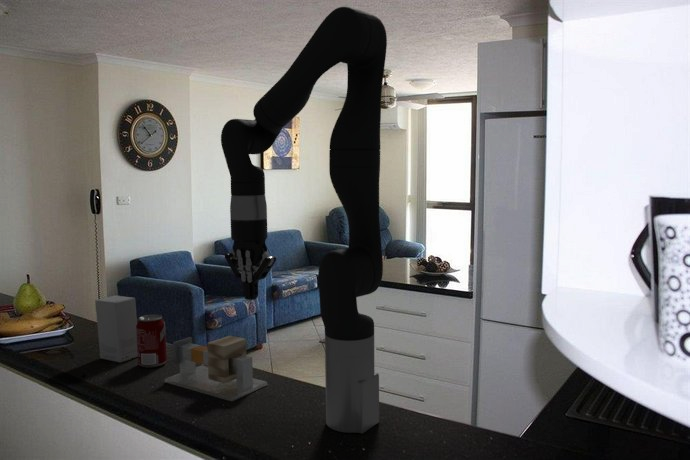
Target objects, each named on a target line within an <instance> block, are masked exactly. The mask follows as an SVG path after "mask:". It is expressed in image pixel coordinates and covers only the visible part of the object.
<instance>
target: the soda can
mask: <svg viewBox="0 0 690 460" xmlns="http://www.w3.org/2000/svg"><path fill="white" fill-rule="evenodd" d="M136 331H137V352H138V357H137V364H138V365H139V366H141V367H142V368H144V367H145V369H155V368H159V367H161V366H163V365H164V364H165V363H167V360H168V359H167V358H168V357H167V356H168V355H167V339H166V338H167V334H166V322H165V321H164V319H163V315H161V314H146V315H142V316H140V317H138V321H137V325H136Z"/></svg>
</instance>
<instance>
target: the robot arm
mask: <svg viewBox="0 0 690 460" xmlns="http://www.w3.org/2000/svg"><path fill="white" fill-rule="evenodd" d="M387 41H388V38H387V29H386V28H385V25H384V23H383V21H382V19H380V18H379V17H378V16H376V15H374V14H373V13H369V12H367V11H364V10H360V9H358V8H355V7H351V6H340V7H337V8H334V10H331V12H330V13H328V14H327V16H325V18H324V19H323V20H322V21H321V23H320V24H319V26H318V27H317V29H316V30H315V31H314V32H313V35H312V36H311V37H310V38H309V40H308V41H307V43H306V44H305V45H304V47H303V48H302V49H301V51H300V52H299V54H298V56H297V57H296V58H295V59H294V61H293V63H292V64H291V65H290V67H289V68H288V69H287V71H286V72H285V73H284V74H283V75H282V76H281V77H280V79H278V81H276V83H275V84H273V86H272V87H271V88H270V89H269V90H268V91H266V93H265V94H264V95H263V96H261V97H260V98H259V100H257V102H256V103H255V104H254V107H253V111H252V112H253V117H254V119H246V118H245V119H244V118H233V119H229V120H227V122H226V123H225V124H224V125H223V127H222V130H221V133H220V142H221V143H220V144H221V149H222V152H223V155H224V158H225V162H226V166H227V169H228V172H229V175H230V204H229V205H230V206H229V213H230V240H232V241H233V244H232V247H231V248H232V250H231V251H230V252H229V253H225V254H224V258H225V260H226V262H227V264H228V266H229V267H230V269H231V271H232V273H233V274H234V277H235V278H236V279H240V280H241V281H242V282H243V286H242V287H243V296H244V299H245V300H249V301H252V300H253V301H254V300H256V299H257V298H258V296H259V281H260V280H263V279H264V280H265V279H266V278H267V276H268V274H269V273H270V271H271V269H272V267H274V264H275V263H276V261H277V257H276V256H274V255H273V256H272V255H271V254H270V253H269V252H268V247H267V243H266V240H267V239H268V206H267V200H266V177H265V174H266V173H265V171H264V169H263V168H262V167H260V166H257V165H254V164H253V163H252V159H251V156H250V155H261V154H263V153H264V152H266V151H268V150H269V149H270V148H271V147H272V146H273V144H274V143H275V141H276V140H277V138H278V137H279V135H280V134H281V132H282V129H283V128H284V127H285V126H286V125H288V124H289V123H290V122H291V121H292V120H293V119H294V118H295V117H297V116H298V115H299V113H300V112H301V111H302V110H303V109H305V106H306V105H307V104H308V102H309V99H310V97H311V94H312V92H313V89H314V87H315V85H316V84H317V82H318V80H319V79H320V78H321V77H322V76H323V75H324V74H325V73H326V72H328V71H329V70H330V69H332V68H333V67H335V66H337V65H338V64H340V63H343V64H346V69H347V83H346V84H347V89H346V94H345V99H344V103H343V105H342V108H341V110H340V112H339V115H338V117H337V119H336V121H335V123H334V127H333V128H332V131H331V134H330V139H329V140H330V141H329V152H328V153H329V156H328V157H329V163H328V165H329V178H330V181H331V184H332V187H333V189H334V192H335V194H336V196H337V197H338V199H339V202H340V203H341V205H342V207H343V210H344V212H345V216H346V219H347V223H348V225H347V226H348V247H347V248H339V249H334V250H330V251H328V252H326V253H325V254H323V256H322V257H321V259H320V263H319V266H318V277H317V279H318V280H317V281H318V294H319V297H318V298H319V310H320V316H321V320H322V323H323V326H324V360H325V361H324V364H325V365H324V369H325V372H324V373H325V379H324V380H325V381H324V382H325V423H326V424H325V425H326V426H327V427H328V428H329V429H331V430H334V431H335V432H336V431H337V432H340V433H348V434H349V433H359V434H365V432H367V431H369V430H370V429H371V428H373V427H374V426H376V425H377V424H379V422H380V375H379V373H377V372H375V322H374V319H373V318H372V316H369V315H367V314H363V313H360V312H359V310H358V302H357V298H359V297H364V296H367V295H371V294H373V293H375V292H376V291H377V290H378V288H380V286H381V283H382V279H383V274H384V273H383V272H384V263H383V261H384V259H383V248H382V237H381V225H380V224H381V221H380V220H381V219H380V174H381V121H382V119H381V118H382V116H381V115H382V92H383V81H384V80H383V79H384V72H385V67H386V66H385V65H386V57H387V48H388V47H387V46H388V42H387Z"/></svg>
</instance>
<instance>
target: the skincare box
mask: <svg viewBox="0 0 690 460" xmlns="http://www.w3.org/2000/svg"><path fill="white" fill-rule="evenodd" d="M94 302H95V304H94V305H95V312H96V314H95V315H96V322H97V334H98V335H97V336H98V345H99V356H100V359H102V360H107V361H110V362H111V361H112V362H115V363H119V364H120V363H123V362H127V361H130V360H132V358H133V359H135V358H138V352H137V331H136V325H137V323H138V317H137V305H136V297H131V296H130V297H129V296H122V295H116V294H115V295H112V296H107V297H105V298H104V297H103V298H100V299H96V300H94Z"/></svg>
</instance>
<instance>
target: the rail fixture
mask: <svg viewBox="0 0 690 460" xmlns="http://www.w3.org/2000/svg"><path fill="white" fill-rule="evenodd" d="M172 350H173V364H175V365H178V364H179V373H177V374H174V375H172V376H168V377H165V378H164V383H166V384H170V385H173V386H177V387H180V388H184V389H187V390H190V391H193V392H194V391H195V392H197V393H201V394H204V395H208V396H212V397H215V398H219V399H222V400H226V401H228V402H234V401H236V400H238V399H241V398H243V397H245V396H247V395H249V394H251V393H253V392H255V391H258V390H260V389H263V388H264V387H266V386H268V381H266V380H261V379H257V378H254V374H253V373H254V370H253V356H249V355H247V354H246V355H241V354H240V355H237V356H234V357H232V358H229V359H228V366H229V371H231V372H235V373H236V379H235V380H232V381H230V382H227V383H221V382H217V381H214V380H210V379H209V378H208V350H207V345H206V346H205V345H201V344H196V343H193V337H191V336H189V337H185V338H181V339H180V340H176V341H173V342H172ZM196 364H199V366H198V365H197V366H196Z"/></svg>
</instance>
